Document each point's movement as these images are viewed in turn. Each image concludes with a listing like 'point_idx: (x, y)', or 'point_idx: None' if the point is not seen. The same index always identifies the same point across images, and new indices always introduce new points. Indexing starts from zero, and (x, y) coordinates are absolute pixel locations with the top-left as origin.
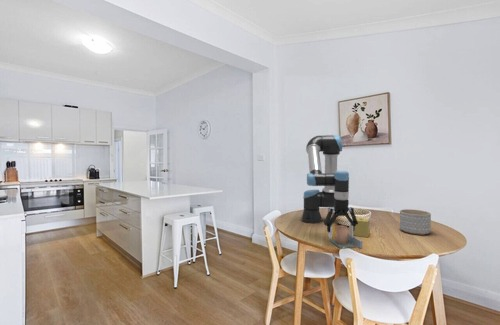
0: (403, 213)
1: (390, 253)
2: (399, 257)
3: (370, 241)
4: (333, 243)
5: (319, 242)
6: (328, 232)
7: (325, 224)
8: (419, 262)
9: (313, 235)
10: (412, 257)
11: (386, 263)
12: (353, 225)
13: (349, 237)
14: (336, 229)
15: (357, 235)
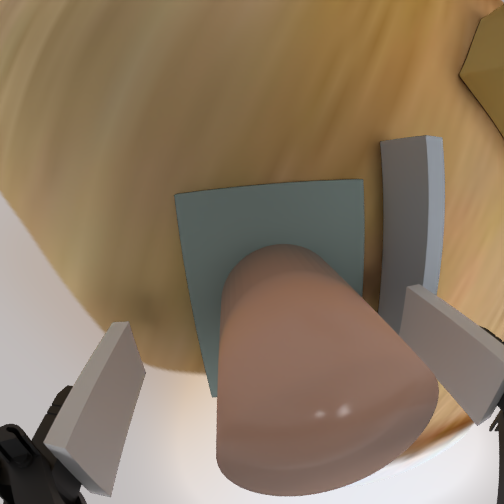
0: None
1: (445, 411)
2: (436, 436)
3: (500, 247)
4: (190, 291)
5: (66, 238)
6: (89, 359)
7: (7, 491)
8: (446, 449)
9: (82, 30)
10: (468, 422)
11: (346, 486)
12: (496, 420)
13: (407, 254)
14: (217, 417)
15: (490, 115)
